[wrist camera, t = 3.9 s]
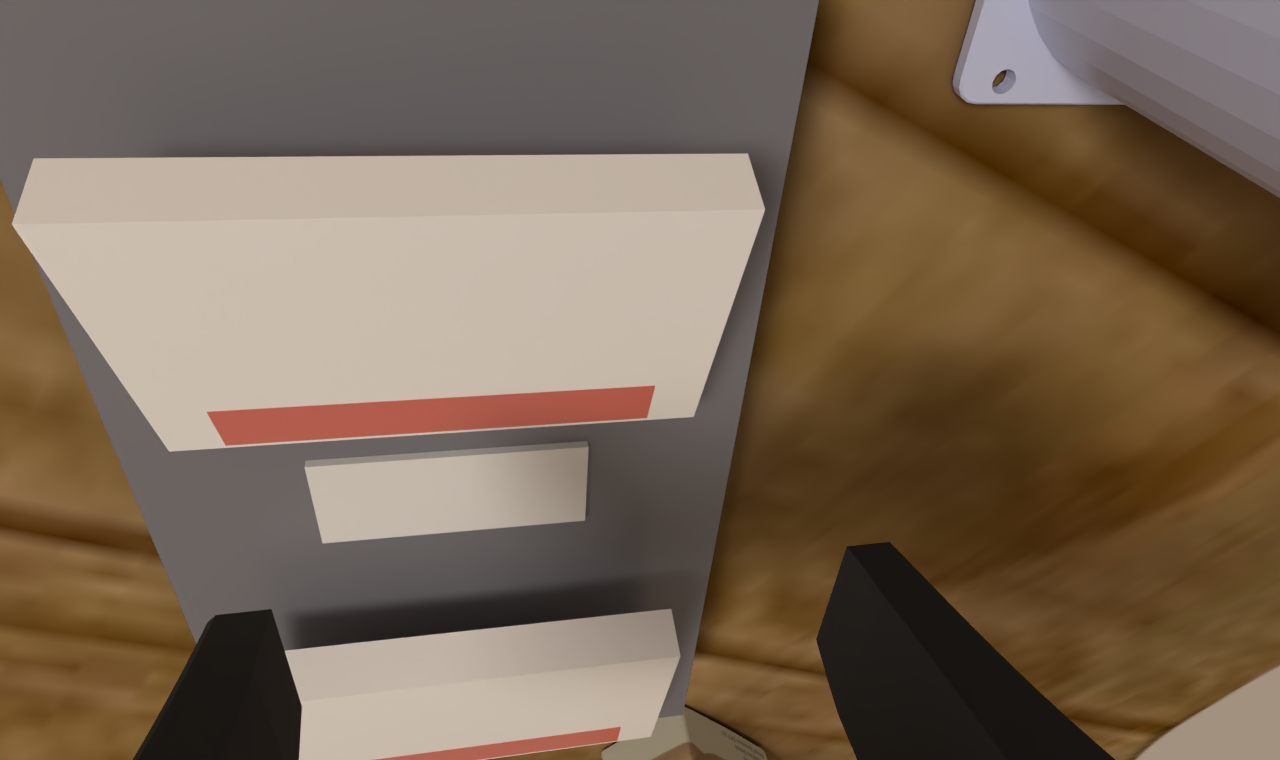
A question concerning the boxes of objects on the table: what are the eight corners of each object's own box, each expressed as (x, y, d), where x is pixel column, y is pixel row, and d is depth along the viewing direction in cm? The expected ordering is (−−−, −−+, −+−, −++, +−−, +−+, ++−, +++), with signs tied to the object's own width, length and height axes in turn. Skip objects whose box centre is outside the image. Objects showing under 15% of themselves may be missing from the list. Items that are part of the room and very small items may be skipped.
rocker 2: (671, 608, 21) (680, 656, 20) (644, 695, 25) (650, 737, 25) (235, 655, 19) (227, 710, 18) (290, 740, 24) (285, 786, 23)
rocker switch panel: (768, -66, 16) (827, -21, 14) (663, 635, 30) (684, 720, 27) (-8, -98, 14) (-107, -52, 11) (266, 681, 27) (249, 778, 25)
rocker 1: (747, 153, 13) (765, 210, 13) (683, 368, 18) (693, 417, 18) (33, 157, 11) (11, 225, 11) (178, 396, 16) (169, 451, 16)
